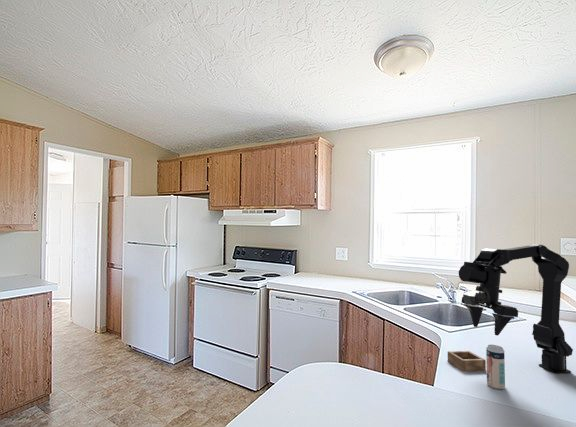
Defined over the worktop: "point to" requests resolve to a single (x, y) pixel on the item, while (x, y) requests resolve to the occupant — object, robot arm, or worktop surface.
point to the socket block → (466, 361)
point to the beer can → (495, 367)
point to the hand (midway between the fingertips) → (485, 330)
